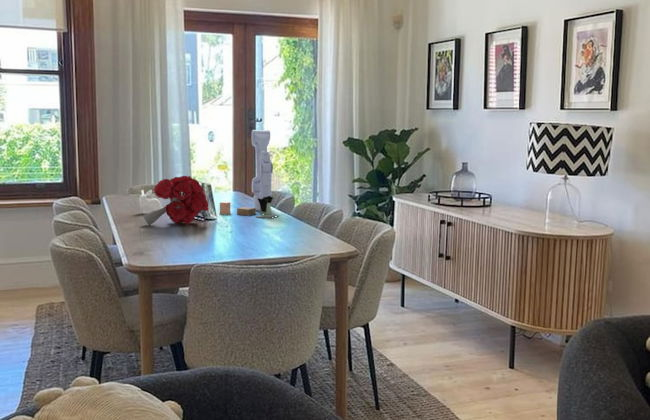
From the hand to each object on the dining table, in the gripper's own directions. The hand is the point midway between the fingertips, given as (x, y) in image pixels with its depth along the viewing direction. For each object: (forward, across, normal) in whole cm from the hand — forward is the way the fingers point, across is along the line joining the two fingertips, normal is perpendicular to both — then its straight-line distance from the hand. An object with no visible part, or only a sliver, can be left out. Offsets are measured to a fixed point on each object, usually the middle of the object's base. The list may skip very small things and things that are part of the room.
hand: (265, 211), depth 341 cm
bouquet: (+2, +50, -26) cm, 56 cm away
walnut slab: (+2, +5, -9) cm, 10 cm away
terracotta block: (+2, +8, -20) cm, 21 cm away
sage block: (+2, 0, 0) cm, 2 cm away
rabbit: (+2, +24, -55) cm, 60 cm away
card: (+2, +9, +5) cm, 10 cm away
